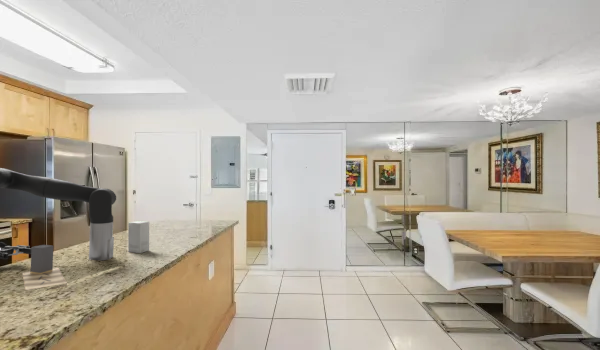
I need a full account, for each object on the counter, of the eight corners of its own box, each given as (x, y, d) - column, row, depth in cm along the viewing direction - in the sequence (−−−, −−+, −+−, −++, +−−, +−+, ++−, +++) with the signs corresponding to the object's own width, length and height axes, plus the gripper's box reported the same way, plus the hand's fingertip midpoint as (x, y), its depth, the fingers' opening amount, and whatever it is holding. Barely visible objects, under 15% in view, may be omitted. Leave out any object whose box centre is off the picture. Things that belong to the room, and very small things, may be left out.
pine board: (22, 275, 118) (22, 272, 118) (58, 270, 125) (58, 267, 125) (25, 293, 100) (25, 290, 100) (66, 286, 108) (66, 282, 108)
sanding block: (30, 272, 118) (31, 247, 118) (42, 269, 122) (43, 244, 122) (40, 274, 117) (41, 248, 117) (52, 270, 121) (53, 245, 121)
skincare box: (149, 250, 162) (150, 221, 162) (139, 253, 156) (140, 223, 156) (137, 249, 165) (138, 220, 165) (126, 251, 158) (128, 222, 159)
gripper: (-33, 244, 118) (-1, 248, 115) (9, 238, 132) (38, 241, 129) (-34, 263, 118) (-2, 268, 115) (8, 255, 132) (38, 258, 129)
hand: (19, 253), depth 122 cm, fingers open, 8 cm apart
